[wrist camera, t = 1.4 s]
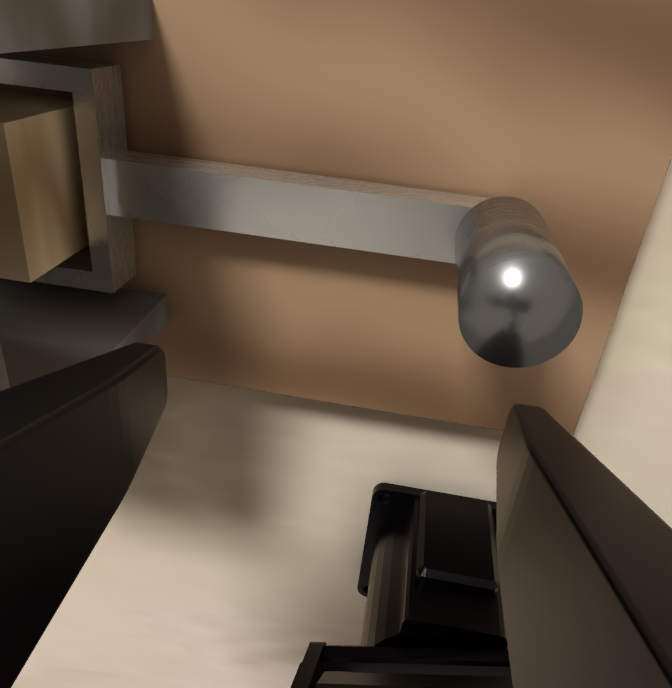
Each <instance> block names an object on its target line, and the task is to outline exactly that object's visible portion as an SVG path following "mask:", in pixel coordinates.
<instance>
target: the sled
mask: <svg viewBox="0 0 672 688" xmlns="http://www.w3.org/2000/svg"><path fill="white" fill-rule="evenodd" d="M0 83H3V84H11V85H19V86H27V87H35V88H44V89H52V90H60V91H68V92H72V96H73V105H74V114H75V123H76V131H77V140H78V149H79V158H80V166H81V175H82V184H83V193H84V202H85V210H86V219H87V228H88V237H89V246H90V249H81V250H80V251H78V252H77V253H75V254H74V255H72V256H71V257H69V258H68V259H66V260H65V261H63V262H62V263H60V264H58V265H57V266H55V267H54V268H52V269H51V270H49V271H48V272H46V273H45V274H43V275H42V276H40V277H39V278H37V279H36V280H34V281H36V282H42V283H49V284H55V285H62V286H68V287H75V288H81V289H88V290H94V291H101V292H108V293H115V292H116V291H117V290H118V289H119V288H120V287H122V286H123V285H124V284H125V283H126V282H127V281H129V280H130V279H131V278H132V277H133V276H135V275H136V274H137V270H136V257H135V244H134V231H133V218H135V219H142V220H149V221H156V222H164V223H171V224H178V225H185V226H192V227H199V228H206V229H213V230H220V231H227V232H234V233H242V234H249V235H256V236H263V237H270V238H277V239H284V240H291V241H298V242H305V243H312V244H320V245H327V246H334V247H341V248H348V249H355V250H362V251H369V252H376V253H383V254H390V255H398V256H405V257H412V258H419V259H426V260H433V261H440V262H447V263H454V264H456V283H457V303H458V322H459V328H460V331H461V334H462V336H463V338H464V340H465V342H466V343H467V345H468V346H469V347H470V349H471V350H472V351H473V352H474V353H476V354H477V355H478V356H479V357H481V358H482V359H484V360H486V361H488V362H490V363H492V364H495V365H498V366H503V367H510V368H523V367H530V366H535V365H538V364H541V363H544V362H546V361H548V360H550V359H552V358H554V357H555V356H557V355H558V354H560V353H561V352H562V351H563V350H565V349H566V348H567V347H568V346H569V344H570V343H571V342H572V341H573V339H574V338H575V336H576V334H577V333H578V330H579V328H580V325H581V321H582V316H583V303H582V299H581V295H580V293H579V290H578V288H577V286H576V284H575V282H574V280H573V278H572V276H571V274H570V272H569V270H568V268H567V266H566V263H565V261H564V259H563V257H562V255H561V253H560V251H559V249H558V247H557V245H556V243H555V241H554V239H553V237H552V235H551V233H550V231H549V229H548V227H547V225H546V223H545V220H544V219H543V217H542V215H541V214H540V212H539V211H538V210H537V209H536V208H535V207H534V206H533V205H531V204H530V203H528V202H526V201H524V200H522V199H519V198H515V197H509V196H500V197H494V198H488V197H480V196H473V195H465V194H457V193H450V192H442V191H435V190H427V189H419V188H412V187H404V186H396V185H389V184H381V183H373V182H366V181H358V180H350V179H343V178H335V177H327V176H320V175H312V174H304V173H297V172H289V171H281V170H274V169H266V168H258V167H251V166H243V165H236V164H228V163H220V162H213V161H205V160H197V159H190V158H182V157H174V156H167V155H159V154H151V153H144V152H136V151H128V150H127V138H126V124H125V111H124V98H123V85H122V71H121V64H113V63H104V62H96V61H87V60H79V59H70V58H62V57H53V56H45V55H36V54H28V53H19V52H11V53H0Z"/></svg>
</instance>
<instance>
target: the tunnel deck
mask: <svg viewBox="0 0 672 688" xmlns="http://www.w3.org/2000/svg"><path fill="white" fill-rule="evenodd" d="M11 52H19V53H28V54H36V55H45V56H53V57H62V58H70V59H79V60H87V61H96V62H104V63H113V64H121V71H122V85H123V98H124V111H125V124H126V138H127V150H128V151H136V152H144V153H151V154H159V155H167V156H174V157H182V158H190V159H197V160H205V161H213V162H220V163H228V164H236V165H243V166H251V167H258V168H266V169H274V170H281V171H289V172H297V173H304V174H312V175H320V176H327V177H335V178H343V179H350V180H358V181H366V182H373V183H381V184H389V185H396V186H404V187H412V188H419V189H427V190H435V191H442V192H450V193H457V194H465V195H473V196H480V197H488V198H494V197H500V196H509V197H515V198H519V199H522V200H524V201H526V202H528V203H530V204H531V205H533V206H534V207H535V208H536V209H537V210H538V211H539V212H540V214H541V215H542V217H543V219H544V220H545V223H546V225H547V227H548V229H549V231H550V233H551V235H552V237H553V239H554V241H555V243H556V245H557V247H558V249H559V251H560V253H561V255H562V257H563V259H564V261H565V263H566V266H567V268H568V270H569V272H570V274H571V276H572V278H573V280H574V282H575V284H576V286H577V288H578V290H579V293H580V295H581V299H582V303H583V316H582V321H581V325H580V328H579V330H578V333H577V334H576V336H575V338H574V339H573V341H572V342H571V343H570V344H569V346H568V347H567V348H566V349H565V350H563V351H562V352H561V353H560V354H558V355H557V356H555V357H554V358H552V359H550V360H548V361H546V362H544V363H541V364H538V365H535V366H530V367H523V368H510V367H503V366H498V365H495V364H492V363H490V362H488V361H486V360H484V359H482V358H481V357H479V356H478V355H477V354H476V353H474V352H473V351H472V350H471V349H470V347H469V346H468V345H467V343H466V342H465V340H464V338H463V336H462V334H461V331H460V328H459V322H458V303H457V283H456V264H454V263H447V262H440V261H433V260H426V259H419V258H412V257H405V256H398V255H390V254H383V253H376V252H369V251H362V250H355V249H348V248H341V247H334V246H327V245H320V244H312V243H305V242H298V241H291V240H284V239H277V238H270V237H263V236H256V235H249V234H242V233H234V232H227V231H220V230H213V229H206V228H199V227H192V226H185V225H178V224H171V223H164V222H156V221H149V220H142V219H135V218H133V231H134V244H135V257H136V270H137V274H136V275H135V276H133V277H132V278H131V279H130V280H129V281H127V282H126V283H125V284H124V285H123V286H122V287H120V288H119V289H118V290H117V291H116V292H115V293H108V292H101V291H94V290H88V289H81V288H75V287H68V286H62V285H55V284H49V283H42V282H36V281H33V282H31V283H28V282H22V281H15V280H9V279H2V278H0V391H1V390H4V389H7V388H10V387H12V386H15V385H18V384H21V383H24V382H26V381H29V380H32V379H35V378H37V377H40V376H43V375H46V374H49V373H51V372H54V371H57V370H60V369H62V368H65V367H68V366H71V365H74V364H76V363H79V362H82V361H85V360H87V359H90V358H93V357H96V356H99V355H101V354H104V353H107V352H110V351H112V350H115V349H118V348H121V347H124V346H126V345H129V344H132V343H135V342H140V343H146V344H152V345H158V346H161V347H162V348H163V350H164V352H165V357H166V374H167V376H173V377H179V378H185V379H191V380H197V381H203V382H209V383H215V384H221V385H227V386H234V387H240V388H246V389H252V390H258V391H264V392H270V393H276V394H282V395H288V396H294V397H300V398H307V399H313V400H319V401H325V402H331V403H337V404H343V405H349V406H355V407H361V408H367V409H373V410H379V411H386V412H392V413H398V414H404V415H410V416H416V417H422V418H428V419H434V420H440V421H446V422H452V423H459V424H465V425H471V426H477V427H483V428H489V429H495V430H501V431H504V428H505V425H506V421H507V418H508V414H509V411H510V409H511V407H512V406H513V405H514V404H516V403H520V404H526V405H533V406H539V407H542V408H544V409H545V410H546V411H547V412H548V413H549V414H550V415H551V416H552V417H554V418H555V419H556V420H557V421H558V422H559V423H560V424H561V425H562V426H563V427H564V428H565V429H566V430H567V431H568V432H569V433H571V434H572V435H573V434H574V431H575V428H576V426H577V423H578V420H579V417H580V414H581V412H582V409H583V406H584V403H585V400H586V397H587V395H588V392H589V389H590V386H591V383H592V380H593V378H594V375H595V372H596V369H597V366H598V363H599V361H600V358H601V355H602V352H603V349H604V347H605V344H606V341H607V338H608V335H609V332H610V330H611V327H612V324H613V321H614V318H615V315H616V313H617V310H618V307H619V304H620V301H621V298H622V296H623V293H624V290H625V287H626V284H627V282H628V279H629V276H630V273H631V270H632V267H633V265H634V262H635V259H636V256H637V253H638V250H639V248H640V245H641V242H642V239H643V236H644V233H645V231H646V228H647V225H648V222H649V219H650V216H651V214H652V211H653V208H654V205H655V202H656V200H657V197H658V194H659V191H660V188H661V185H662V183H663V180H664V177H665V174H666V171H667V168H668V166H669V163H670V160H671V157H672V0H0V53H11ZM0 90H2V91H10V92H18V93H26V94H34V95H42V96H50V97H59V98H67V99H73V96H72V92H68V91H60V90H52V89H44V88H35V87H27V86H19V85H11V84H3V83H0ZM83 249H90V246H89V245H87V246H86V247H84V248H83Z"/></svg>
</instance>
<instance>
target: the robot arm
mask: <svg viewBox="0 0 672 688" xmlns="http://www.w3.org/2000/svg"><path fill="white" fill-rule="evenodd" d="M166 401H167V374H166V357H165V352H164V350H163V348H162V347H161V346H158V345H152V344H146V343H140V342H135V343H132V344H129V345H126V346H124V347H121V348H118V349H115V350H112V351H110V352H107V353H104V354H101V355H99V356H96V357H93V358H90V359H87V360H85V361H82V362H79V363H76V364H74V365H71V366H68V367H65V368H62V369H60V370H57V371H54V372H51V373H49V374H46V375H43V376H40V377H37V378H35V379H32V380H29V381H26V382H24V383H21V384H18V385H15V386H12V387H10V388H7V389H4V390H1V391H0V688H11V687H12V685H13V683H14V682H15V680H16V678H17V677H18V675H19V673H20V672H21V670H22V668H23V667H24V665H25V663H26V662H27V660H28V658H29V656H30V655H31V653H32V651H33V650H34V648H35V646H36V645H37V643H38V641H39V640H40V638H41V636H42V635H43V633H44V631H45V630H46V628H47V626H48V624H49V623H50V621H51V619H52V618H53V616H54V614H55V613H56V611H57V609H58V608H59V606H60V604H61V603H62V601H63V599H64V597H65V596H66V594H67V592H68V591H69V589H70V587H71V586H72V584H73V582H74V581H75V579H76V577H77V576H78V574H79V572H80V571H81V569H82V567H83V565H84V564H85V562H86V560H87V559H88V557H89V555H90V554H91V552H92V550H93V549H94V547H95V545H96V544H97V542H98V540H99V538H100V537H101V535H102V533H103V532H104V530H105V528H106V527H107V525H108V523H109V522H110V520H111V518H112V517H113V515H114V513H115V512H116V510H117V508H118V506H119V505H120V503H121V501H122V500H123V498H124V496H125V494H126V492H127V491H128V489H129V487H130V484H131V482H132V480H133V478H134V476H135V474H136V472H137V469H138V467H139V465H140V462H141V460H142V458H143V456H144V453H145V451H146V449H147V447H148V444H149V442H150V440H151V438H152V435H153V433H154V431H155V429H156V426H157V424H158V422H159V420H160V417H161V415H162V413H163V410H164V408H165V405H166ZM382 494H386V495H388V497H383V496H381V495H382ZM358 591H359V593H360V594H362V595H363V596H366V597H367V602H366V610H365V618H364V626H363V633H362V641H361V646H346V645H327V644H326V642H310V644H309V646H308V649H307V651H306V654H305V657H304V659H303V662H301V663H300V665H299V668H298V670H297V673H296V675H295V678H294V680H293V683H292V685H291V688H672V528H671V527H670V526H669V525H667V524H666V523H665V522H664V521H663V520H662V519H661V518H660V517H659V516H658V515H657V514H656V513H655V512H654V511H653V510H651V509H650V508H649V507H648V506H647V505H646V504H645V503H644V502H643V501H642V500H641V499H640V498H639V497H638V496H637V495H636V494H634V493H633V492H632V491H631V490H630V489H629V488H628V487H627V486H626V485H625V484H624V483H623V482H622V481H621V480H620V479H618V478H617V477H616V476H615V475H614V474H613V473H612V472H611V471H610V470H609V469H608V468H607V467H606V466H605V465H604V464H602V463H601V462H600V461H599V460H598V459H597V458H596V457H595V456H594V455H593V454H592V453H591V452H590V451H589V450H588V449H587V448H585V447H584V446H583V445H582V444H581V443H580V442H579V441H578V440H577V439H576V438H575V437H574V436H573V435H572V434H571V433H569V432H568V431H567V430H566V429H565V428H564V427H563V426H562V425H561V424H560V423H559V422H558V421H557V420H556V419H555V418H554V417H552V416H551V415H550V414H549V413H548V412H547V411H546V410H545V409H544V408H542V407H539V406H533V405H526V404H520V403H516V404H514V405H513V406H512V407H511V409H510V411H509V414H508V418H507V421H506V425H505V428H504V432H503V435H502V439H501V442H500V446H499V450H498V455H497V502H492V501H486V500H480V499H475V498H469V497H463V496H457V495H452V494H446V493H440V492H435V491H429V490H423V489H417V488H412V487H406V486H400V485H395V484H389V483H380V484H378V485H376V486H375V487H374V490H373V495H372V501H371V507H370V513H369V520H368V526H367V532H366V538H365V544H364V551H363V557H362V563H361V569H360V576H359V582H358Z"/></svg>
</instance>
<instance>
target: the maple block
mask: <svg viewBox="0 0 672 688" xmlns="http://www.w3.org/2000/svg"><path fill="white" fill-rule="evenodd" d="M87 245H89V237H88V228H87V219H86V210H85V202H84V193H83V184H82V175H81V166H80V158H79V149H78V140H77V131H76V123H75V114H74V105H73V99H67V98H59V97H50V96H42V95H34V94H26V93H18V92H10V91H2V90H0V278H2V279H9V280H15V281H22V282H28V283H31V282H33V281H34V280H36V279H37V278H39V277H40V276H42V275H43V274H45V273H46V272H48V271H49V270H51V269H52V268H54V267H55V266H57V265H58V264H60V263H62V262H63V261H65V260H66V259H68V258H69V257H71V256H72V255H74V254H75V253H77V252H78V251H80V250H81V249H83V248H84V247H86V246H87Z"/></svg>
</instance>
